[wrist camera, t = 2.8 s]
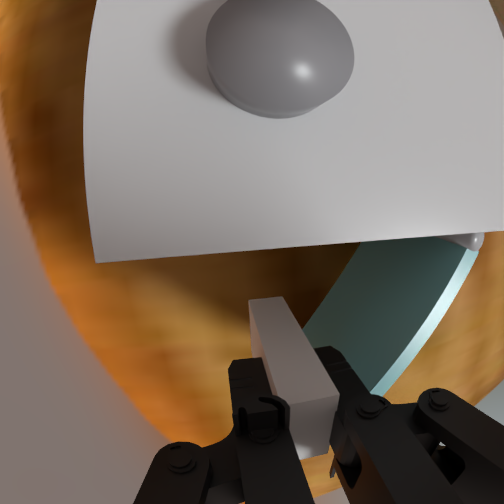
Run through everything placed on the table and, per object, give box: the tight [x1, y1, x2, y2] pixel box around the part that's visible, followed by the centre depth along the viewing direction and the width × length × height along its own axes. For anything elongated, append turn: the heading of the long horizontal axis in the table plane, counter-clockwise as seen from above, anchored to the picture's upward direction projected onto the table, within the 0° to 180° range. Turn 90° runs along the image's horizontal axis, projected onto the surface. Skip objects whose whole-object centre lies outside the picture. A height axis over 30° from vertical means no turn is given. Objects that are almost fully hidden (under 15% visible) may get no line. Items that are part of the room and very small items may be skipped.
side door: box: [302, 232, 484, 396], centre depth 12 cm, size 10×2×7 cm, turn 148°
